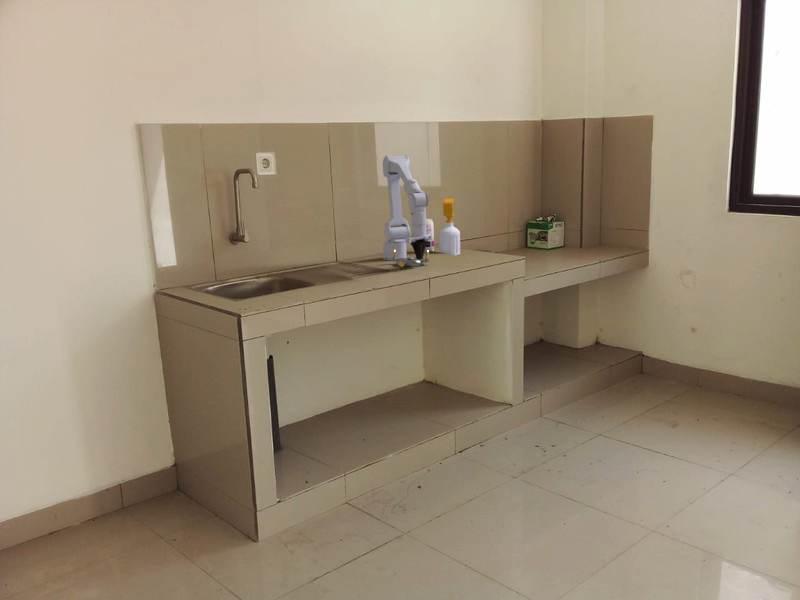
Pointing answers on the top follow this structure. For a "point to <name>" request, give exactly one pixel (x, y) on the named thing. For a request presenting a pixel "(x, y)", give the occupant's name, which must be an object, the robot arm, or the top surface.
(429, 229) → the supplement can
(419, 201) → the robot arm
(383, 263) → the top surface
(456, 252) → the soap bottle
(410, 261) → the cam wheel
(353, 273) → the top surface
